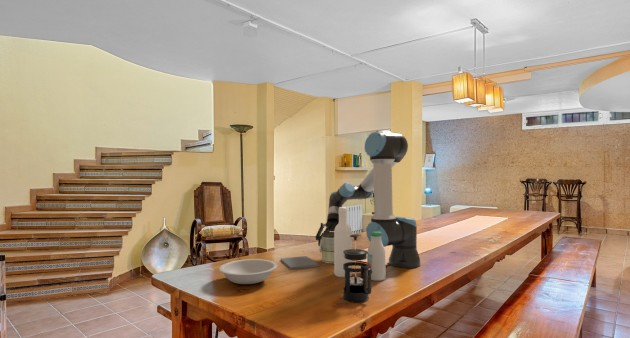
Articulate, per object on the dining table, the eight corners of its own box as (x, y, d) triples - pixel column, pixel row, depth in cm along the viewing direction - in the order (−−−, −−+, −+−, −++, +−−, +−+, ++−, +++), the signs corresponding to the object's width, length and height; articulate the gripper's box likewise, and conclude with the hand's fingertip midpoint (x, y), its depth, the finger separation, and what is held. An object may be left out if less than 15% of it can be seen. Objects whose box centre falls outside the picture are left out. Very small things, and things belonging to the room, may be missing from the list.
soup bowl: (215, 277, 154) (215, 262, 154) (268, 271, 164) (268, 256, 164) (223, 295, 132) (223, 277, 132) (284, 286, 142) (284, 270, 142)
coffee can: (322, 258, 187) (322, 231, 187) (341, 258, 186) (341, 231, 186) (320, 263, 177) (320, 235, 177) (341, 263, 176) (341, 235, 176)
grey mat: (318, 266, 171) (318, 264, 171) (290, 269, 166) (290, 267, 166) (306, 257, 188) (306, 255, 188) (280, 260, 183) (280, 258, 183)
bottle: (333, 272, 161) (333, 206, 161) (351, 272, 161) (350, 206, 161) (334, 277, 153) (334, 208, 153) (353, 277, 153) (352, 208, 153)
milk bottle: (386, 276, 154) (386, 230, 154) (384, 282, 147) (383, 233, 147) (369, 275, 157) (368, 230, 157) (365, 280, 150) (365, 232, 150)
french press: (336, 297, 129) (335, 234, 129) (352, 291, 136) (352, 231, 136) (361, 306, 121) (361, 239, 121) (377, 299, 127) (377, 235, 128)
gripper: (355, 220, 195) (353, 256, 179) (314, 220, 199) (309, 254, 183) (354, 212, 190) (352, 248, 174) (313, 211, 193) (307, 246, 178)
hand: (330, 251), depth 179 cm, fingers closed on coffee can, 10 cm apart
